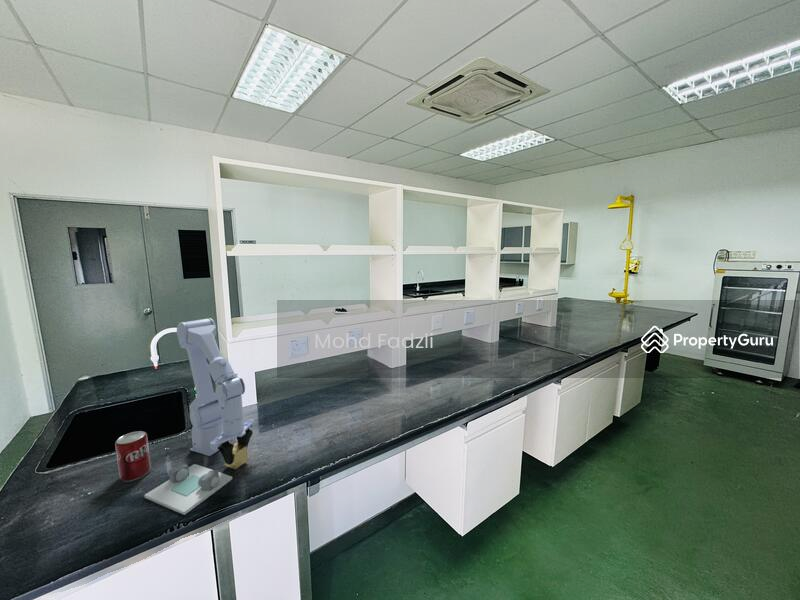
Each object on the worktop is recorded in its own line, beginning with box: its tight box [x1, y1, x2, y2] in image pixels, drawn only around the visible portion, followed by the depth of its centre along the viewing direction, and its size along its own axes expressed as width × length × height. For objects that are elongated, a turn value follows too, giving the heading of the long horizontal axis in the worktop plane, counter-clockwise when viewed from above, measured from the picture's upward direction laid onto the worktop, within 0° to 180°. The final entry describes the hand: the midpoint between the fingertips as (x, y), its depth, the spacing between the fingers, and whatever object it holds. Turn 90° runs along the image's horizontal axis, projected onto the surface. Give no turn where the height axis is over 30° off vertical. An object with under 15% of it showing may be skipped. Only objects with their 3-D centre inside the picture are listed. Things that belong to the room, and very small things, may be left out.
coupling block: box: [223, 442, 249, 470], centre depth 98 cm, size 4×4×5 cm
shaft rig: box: [143, 462, 233, 516], centre depth 89 cm, size 16×14×4 cm
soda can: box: [114, 430, 152, 483], centre depth 94 cm, size 7×7×12 cm
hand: (236, 458), depth 98 cm, fingers closed on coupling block, 4 cm apart
